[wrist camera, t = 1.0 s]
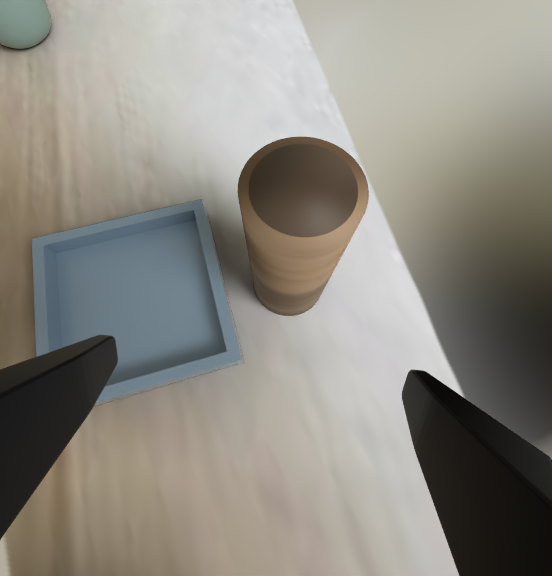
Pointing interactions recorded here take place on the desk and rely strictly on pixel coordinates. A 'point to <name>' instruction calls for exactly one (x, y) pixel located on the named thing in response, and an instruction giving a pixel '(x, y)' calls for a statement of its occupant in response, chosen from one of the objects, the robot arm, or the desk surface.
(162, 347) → the desk tray
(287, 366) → the desk surface
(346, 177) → the cup
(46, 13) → the cup
